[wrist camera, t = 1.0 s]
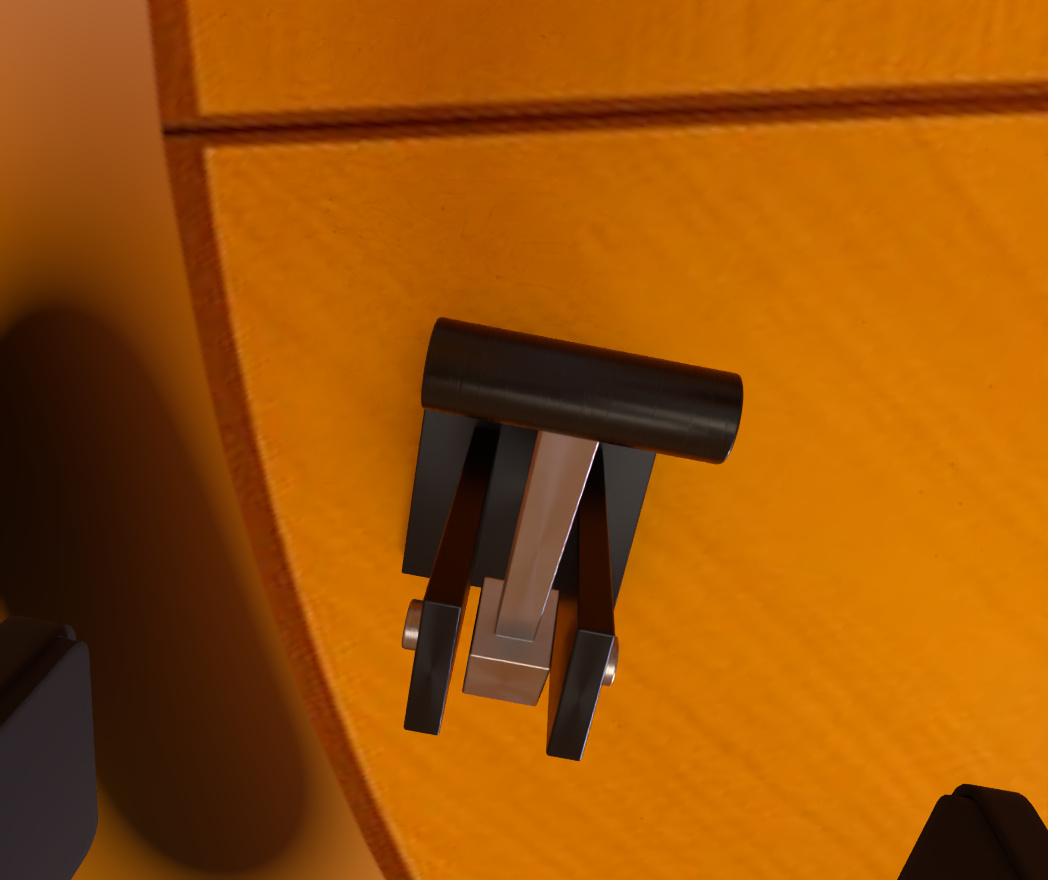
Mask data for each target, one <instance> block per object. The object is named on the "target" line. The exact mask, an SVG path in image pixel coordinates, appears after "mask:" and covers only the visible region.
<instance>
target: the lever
mask: <svg viewBox="0 0 1048 880" xmlns="http://www.w3.org/2000/svg"><path fill="white" fill-rule="evenodd" d="M421 404H422V407H423V408H424V409H426V410H432V411H437V412H442V413H447V414H453V415H458V416H463V417H469V418H474V419H479V420H485V421H490V422H495V423H500V424H506V425H511V426H516V427H522V428H527V429H532V430H537V431H538V435H537V440H536V444H535V448H534V453H533V457H532V461H531V466H530V470H529V475H528V479H527V483H526V488H525V492H524V496H523V501H522V505H521V509H520V514H519V518H518V522H517V527H516V531H515V535H514V540H513V544H512V548H511V553H510V557H509V562H508V566H507V570H506V575H505V579H504V580H501V579H496V578H491V577H484V578H483V583H482V588H481V593H480V598H479V604H478V609H477V614H476V619H475V625H474V630H473V635H472V641H471V646H470V651H469V657H468V662H467V667H466V673H465V678H464V683H463V689H462V692H463V693H465V694H471V695H476V696H481V697H487V698H492V699H498V700H503V701H509V702H514V703H520V704H525V705H531V706H536V705H537V703H538V700H539V697H540V695H541V692H542V690H543V687H544V685H545V682H546V680H547V677H548V675H549V672H550V670H551V664H552V655H553V647H554V639H555V631H556V623H557V615H558V606H559V598H560V591H559V590H555V589H551V587H552V584H553V581H554V578H555V575H556V572H557V569H558V566H559V563H560V560H561V557H562V554H563V551H564V548H565V545H566V542H567V539H568V536H569V533H570V530H571V526H572V523H573V520H574V517H575V514H576V511H577V508H578V505H579V502H580V499H581V496H582V493H583V490H584V487H585V484H586V481H587V478H588V475H589V472H590V469H591V466H592V463H593V460H594V457H595V454H596V451H597V448H598V445H599V442H601V443H606V444H612V445H617V446H622V447H627V448H633V449H638V450H643V451H649V452H654V453H659V454H665V455H670V456H675V457H680V458H686V459H691V460H696V461H702V462H707V463H712V464H721V463H723V462H724V461H725V460H726V459H727V457H728V455H729V453H730V451H731V449H732V447H733V445H734V442H735V439H736V436H737V433H738V429H739V425H740V420H741V414H742V407H743V384H742V379H741V377H740V376H739V375H738V374H736V373H732V372H726V371H721V370H716V369H711V368H705V367H700V366H695V365H690V364H684V363H679V362H674V361H669V360H663V359H658V358H653V357H648V356H642V355H637V354H632V353H627V352H621V351H616V350H611V349H606V348H600V347H595V346H590V345H585V344H580V343H574V342H569V341H564V340H559V339H553V338H548V337H543V336H538V335H532V334H527V333H522V332H517V331H511V330H506V329H501V328H496V327H490V326H485V325H480V324H475V323H469V322H464V321H459V320H454V319H449V318H443V317H441V318H438V319H437V321H436V323H435V325H434V328H433V331H432V334H431V338H430V342H429V346H428V351H427V356H426V361H425V367H424V373H423V381H422V390H421Z"/></svg>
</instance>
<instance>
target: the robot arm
mask: <svg viewBox="0 0 1048 880" xmlns="http://www.w3.org/2000/svg"><path fill="white" fill-rule="evenodd" d="M95 774H96V773H95V755H94V737H93V718H92V701H91V682H90V664H89V651H88V646H87V645H86V643H85V642H81V641H76V637H75V631H74V630H73V629H72V627H71V626H69V625H66V624H61V623H56V622H50V621H44V620H38V619H33V618H27V617H22V616H13V617H9V618H7V619H6V620H5V621H3V622H2V623H0V880H71V879H72V877H73V876H74V874H75V872H76V871H77V869H78V868H79V866H80V865H81V863H82V861H83V860H84V858H85V857H86V855H87V853H88V851H89V849H90V847H91V844H92V842H93V839H94V836H95V833H96V829H97V824H98V809H97V791H96V775H95ZM897 880H1048V830H1047V828H1046V826H1045V825H1044V823H1043V822H1042V820H1041V818H1040V817H1039V815H1038V814H1037V812H1036V810H1035V809H1034V807H1033V806H1032V804H1031V803H1030V802H1029V801H1028V800H1027V798H1026V797H1024V796H1023V795H1021V794H1019V793H1016V792H1011V791H1005V790H999V789H994V788H988V787H982V786H977V785H971V784H962V785H960V786H959V787H957V788H956V789H955V791H954V792H953V793H952V795H944V796H942V797H940V799H939V800H938V801H937V803H936V805H935V807H934V809H933V811H932V813H931V815H930V817H929V819H928V821H927V823H926V825H925V826H924V828H923V830H922V832H921V834H920V836H919V838H918V840H917V842H916V844H915V846H914V848H913V850H912V852H911V854H910V856H909V858H908V860H907V862H906V864H905V866H904V867H903V869H902V871H901V873H900V875H899V877H898V879H897Z"/></svg>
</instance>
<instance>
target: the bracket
mask: <svg viewBox="0 0 1048 880" xmlns="http://www.w3.org/2000/svg"><path fill="white" fill-rule="evenodd" d="M537 435H538V431H537V430H532V429H527V428H522V427H516V426H511V425H506V424H500V423H495V422H490V421H485V420H479V419H474V418H469V417H463V416H458V415H453V414H447V413H442V412H437V411H432V410H426V409H424V415H423V422H422V430H421V437H420V444H419V451H418V458H417V465H416V473H415V480H414V487H413V494H412V501H411V508H410V516H409V523H408V530H407V537H406V544H405V551H404V558H403V566H402V573H405V574H411V575H416V576H421V577H427V578H430V579H429V583H428V586H427V589H426V593H425V596H424V599H423V601H422V600H417V599H412V601H411V602H410V605H409V609H408V612H407V616H406V621H405V626H404V631H403V637H402V648H404V649H408V650H414V651H415V657H414V663H413V670H412V676H411V683H410V689H409V696H408V702H407V708H406V715H405V721H404V729H405V730H410V731H415V732H421V733H426V734H432V735H438V734H439V732H440V728H441V723H442V718H443V713H444V709H445V704H446V699H447V695H448V690H449V685H450V681H451V676H452V671H453V666H454V662H455V657H456V652H457V648H458V643H459V638H460V633H461V629H462V624H463V619H464V615H465V610H466V605H467V600H468V596H469V591H470V586H475V587H481V588H482V583H483V578H484V577H491V578H496V579H501V580H504V579H505V575H506V570H507V566H508V562H509V557H510V553H511V548H512V544H513V540H514V535H515V531H516V527H517V522H518V518H519V514H520V509H521V505H522V501H523V496H524V492H525V488H526V483H527V479H528V475H529V470H530V466H531V461H532V457H533V453H534V448H535V444H536V440H537ZM655 456H656V453H654V452H649V451H643V450H638V449H633V448H627V447H622V446H617V445H612V444H606V443H601V442H599V445H598V448H597V451H596V454H595V457H594V460H593V463H592V466H591V469H590V472H589V475H588V478H587V481H586V484H585V487H584V490H583V493H582V496H581V499H580V502H579V505H578V508H577V511H576V514H575V517H574V520H573V523H572V526H571V530H570V533H569V536H568V539H567V542H566V545H565V548H564V551H563V554H562V557H561V560H560V563H559V566H558V569H557V572H556V575H555V578H554V581H553V584H552V587H551V589H555V590H559V591H560V598H559V606H558V615H557V623H556V631H555V639H554V647H553V655H552V664H551V670H550V682H549V703H548V723H547V744H546V753H547V755H548V756H553V757H559V758H564V759H570V760H575V761H580V760H581V758H582V755H583V751H584V748H585V744H586V740H587V737H588V733H589V729H590V726H591V722H592V719H593V715H594V711H595V708H596V704H597V700H598V697H599V693H600V689H601V686H602V685H604V686H610V685H611V684H612V682H613V680H614V676H615V672H616V668H617V662H618V653H619V642H618V638H617V637H616V636H615V625H614V608H615V605H616V601H617V597H618V593H619V590H620V586H621V582H622V579H623V575H624V571H625V567H626V564H627V560H628V556H629V553H630V549H631V545H632V542H633V538H634V534H635V530H636V527H637V523H638V519H639V516H640V512H641V508H642V505H643V501H644V497H645V493H646V490H647V486H648V482H649V479H650V475H651V471H652V467H653V464H654V460H655Z"/></svg>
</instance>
